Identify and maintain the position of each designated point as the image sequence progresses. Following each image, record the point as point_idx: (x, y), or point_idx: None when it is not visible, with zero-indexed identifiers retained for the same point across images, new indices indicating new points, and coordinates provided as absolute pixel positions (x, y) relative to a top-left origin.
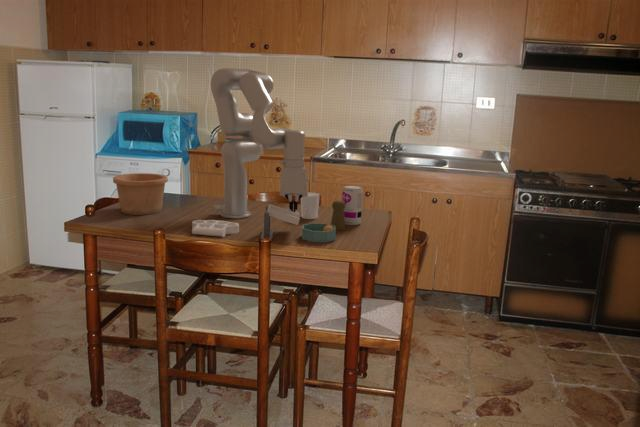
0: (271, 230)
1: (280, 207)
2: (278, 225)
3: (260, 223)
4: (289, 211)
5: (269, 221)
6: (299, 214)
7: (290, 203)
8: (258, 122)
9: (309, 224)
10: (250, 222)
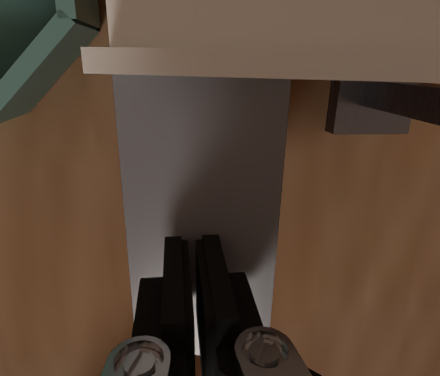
0: (350, 91)
1: (422, 74)
2: (280, 290)
3: (382, 313)
4: (250, 49)
5: (418, 84)
6: (90, 48)
7: (244, 321)
8: None
9: (3, 77)
10: (434, 323)
